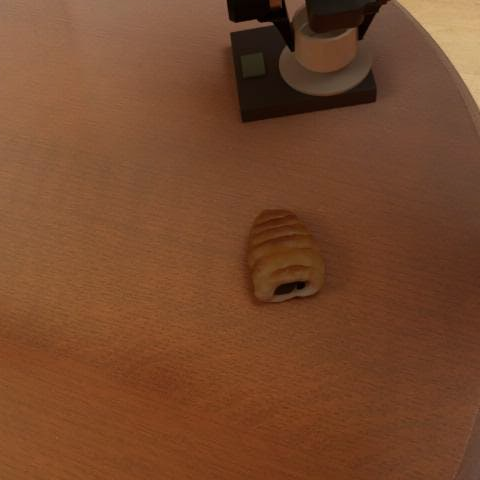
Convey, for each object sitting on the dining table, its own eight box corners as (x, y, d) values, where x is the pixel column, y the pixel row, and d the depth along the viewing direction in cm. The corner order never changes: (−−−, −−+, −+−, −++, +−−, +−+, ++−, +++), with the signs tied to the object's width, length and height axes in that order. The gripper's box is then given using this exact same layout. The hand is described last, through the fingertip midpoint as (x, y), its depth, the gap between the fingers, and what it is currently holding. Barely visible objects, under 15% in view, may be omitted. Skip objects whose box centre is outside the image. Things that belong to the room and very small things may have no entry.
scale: (357, 23, 84) (358, 6, 82) (379, 101, 78) (380, 85, 76) (231, 45, 86) (229, 29, 84) (242, 122, 80) (239, 107, 78)
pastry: (238, 225, 72) (234, 203, 69) (307, 211, 72) (306, 187, 69) (257, 310, 67) (254, 289, 64) (332, 295, 67) (332, 273, 64)
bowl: (351, 26, 79) (352, -8, 76) (362, 68, 76) (364, 35, 72) (290, 37, 80) (288, 3, 77) (298, 79, 77) (297, 46, 73)
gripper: (223, -14, 61) (242, 115, 74) (460, -57, 58) (437, 84, 71) (213, -94, 67) (232, 39, 80) (427, -136, 65) (411, 8, 77)
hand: (325, 43), depth 77 cm, fingers closed on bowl, 6 cm apart
